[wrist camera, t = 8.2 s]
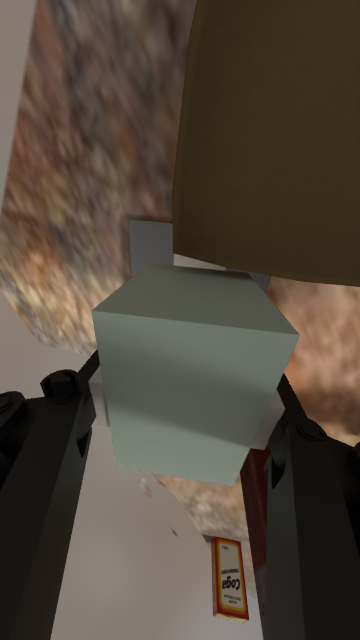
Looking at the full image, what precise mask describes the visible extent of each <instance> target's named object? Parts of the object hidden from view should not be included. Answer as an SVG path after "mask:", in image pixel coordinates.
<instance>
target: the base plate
mask: <svg viewBox="0 0 360 640" xmlns="http://www.w3.org/2000/svg"><path fill="white" fill-rule="evenodd" d="M128 221H129V241H130V261H131V278H132V277H133V276H135V275H136V274H137V273H138V272H139V271H141V270H142V269H143V268H144V267H146V266H147V265H148V264H149V263H154V264H164V265H174V266H184V267H194V268H204V269H214V270H224V271H234V272H244V273H249V275H250V276H251V277H252V278H253V279H254V281H255V282H256V283H257V284H258V285H259V287H260V288H261V289H262V290H263V291H264V293H265V294H266V290H267V287H268V284H269V281H270V277H271V276H270V275H264V274H259V273H253V272H247V271H242V270H236V269H231V268H226V267H222V266H219V265H215V264H211V263H207V262H204V261H200V260H196V259H192V258H189V257H185V256H181V255H177V254H174V253H173V223H166V222H154V221H142V220H128Z"/></svg>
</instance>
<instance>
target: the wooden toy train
mask: <svg viewBox="0 0 360 640" xmlns="http://www.w3.org/2000/svg"><path fill="white" fill-rule="evenodd" d="M172 201H173V253H174V254H177V255H181V256H185V257H189V258H192V259H196V260H200V261H204V262H207V263H211V264H215V265H219V266H222V267H226V268H231V269H236V270H242V271H247V272H253V273H259V274H264V275H270V276H275V277H281V278H286V279H292V280H297V281H303V282H313V283H324V284H335V285H345V286H356V287H360V0H197V4H196V8H195V13H194V18H193V23H192V28H191V33H190V38H189V45H188V54H187V63H186V72H185V81H184V90H183V99H182V108H181V118H180V127H179V136H178V145H177V154H176V163H175V172H174V181H173V190H172Z"/></svg>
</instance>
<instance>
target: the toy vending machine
mask: <svg viewBox="0 0 360 640" xmlns="http://www.w3.org/2000/svg"><path fill="white" fill-rule="evenodd" d="M270 454H271V450H270V447H269V443H268V444H267V446H266V448H265V450H260V449H254V448H250V450H249V452H248V454H247V456H246V459H245V461H244V463H243V465H242V468H241V470H240V477H241V484H242V491H243V498H244V505H245V512H246V519H247V526H248V534H249V541H250V548H251V555H252V562H253V569H254V576H255V583H256V590H257V597H258V604H259V611H260V618H261V626H262V632H263V639H264V640H265V597H266V548H267V498H268V469H267V470H266V471H264V470H263V469H264V465H265V463H266V461H267V460H268V458H269V456H270Z"/></svg>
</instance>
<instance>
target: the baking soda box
mask: <svg viewBox="0 0 360 640" xmlns="http://www.w3.org/2000/svg"><path fill="white" fill-rule="evenodd" d="M211 548H212V591H213V616H215V617H218V618H222V619H226V620H233V621H237V622H242V623H244V622H246V621H248V620H249V614H248V605H247V596H246V587H245V578H244V569H243V560H242V551H241V543H240V542H239V541H234V540H230V539H225V538H220V537H214V539H213V540H212V542H211Z"/></svg>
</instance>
